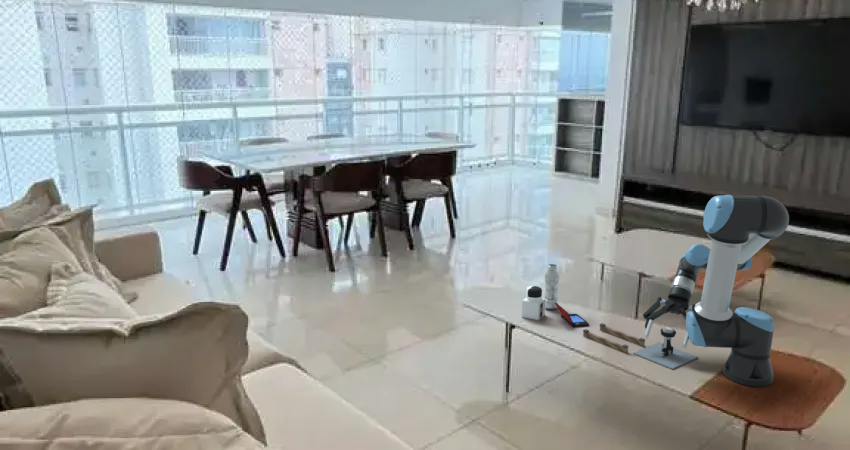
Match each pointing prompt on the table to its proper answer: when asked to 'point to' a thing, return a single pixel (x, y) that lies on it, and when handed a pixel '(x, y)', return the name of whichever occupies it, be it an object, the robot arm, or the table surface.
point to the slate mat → (667, 361)
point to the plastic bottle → (551, 287)
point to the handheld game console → (572, 318)
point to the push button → (667, 340)
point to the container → (533, 303)
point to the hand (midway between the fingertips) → (664, 341)
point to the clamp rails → (616, 333)
